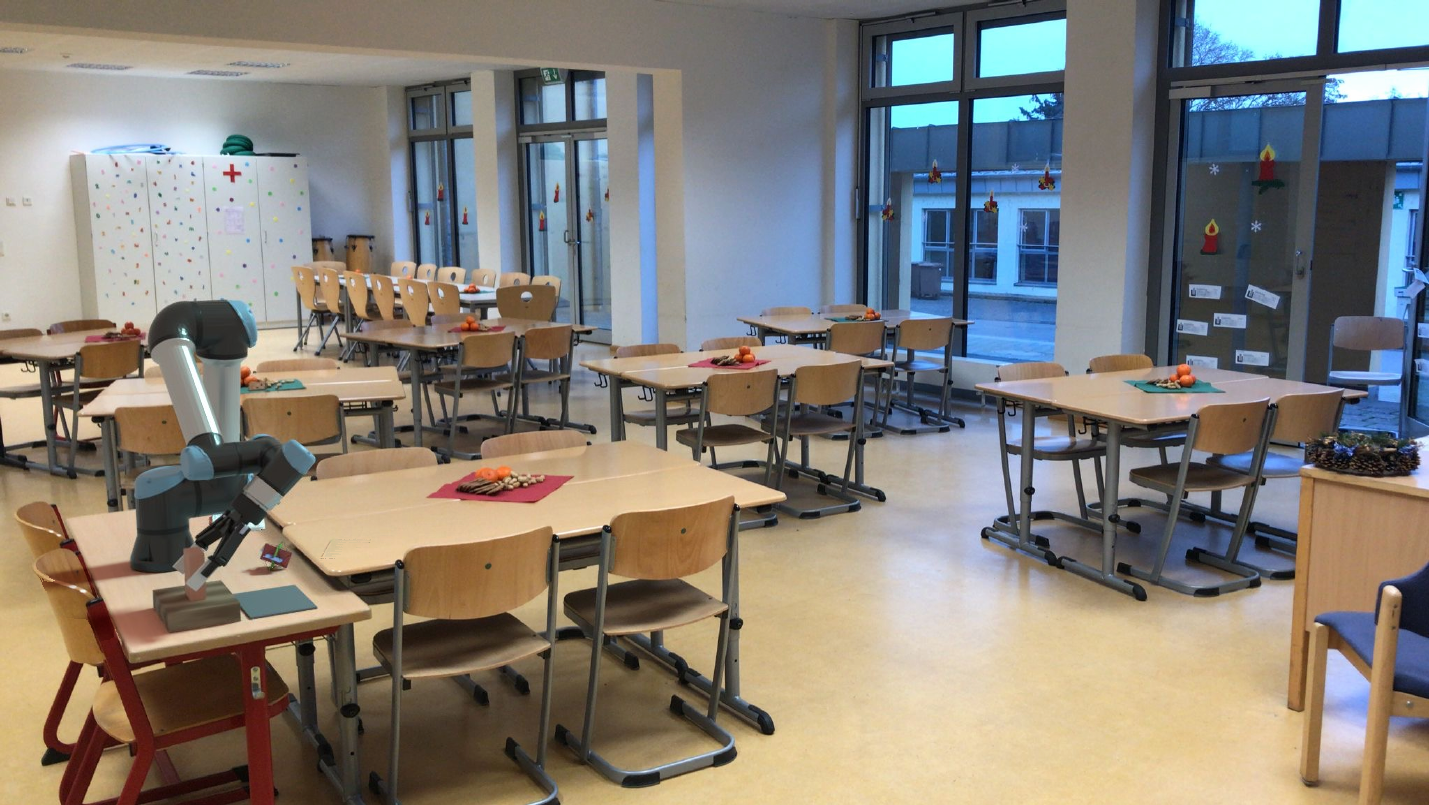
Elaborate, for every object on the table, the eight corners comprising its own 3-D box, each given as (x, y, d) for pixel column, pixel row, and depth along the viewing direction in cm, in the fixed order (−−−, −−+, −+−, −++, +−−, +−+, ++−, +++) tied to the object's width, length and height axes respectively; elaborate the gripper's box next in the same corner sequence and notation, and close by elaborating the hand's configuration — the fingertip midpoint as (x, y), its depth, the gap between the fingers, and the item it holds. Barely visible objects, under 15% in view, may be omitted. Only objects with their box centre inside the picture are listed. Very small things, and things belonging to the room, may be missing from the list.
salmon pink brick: (185, 593, 252) (183, 548, 250) (200, 591, 253) (198, 546, 252) (191, 601, 247) (189, 555, 245) (206, 599, 249) (204, 553, 247)
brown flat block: (153, 607, 254) (152, 590, 254) (221, 597, 262) (221, 580, 261) (169, 632, 240) (168, 614, 239) (240, 621, 247) (240, 602, 247)
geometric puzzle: (302, 556, 287) (281, 530, 286) (294, 564, 281) (272, 538, 279) (279, 573, 288) (258, 547, 286) (270, 581, 281) (249, 555, 280)
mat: (231, 595, 263) (231, 594, 263) (294, 586, 271) (294, 584, 271) (250, 619, 249) (250, 617, 249) (317, 608, 256) (317, 606, 256)
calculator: (212, 535, 312) (211, 528, 312) (212, 517, 331) (212, 511, 330) (265, 532, 318) (265, 525, 317) (262, 514, 336) (262, 507, 336)
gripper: (283, 525, 246) (210, 605, 240) (254, 500, 266) (186, 573, 260) (256, 503, 242) (181, 584, 236) (228, 479, 263) (159, 553, 256)
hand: (183, 578), depth 248 cm, fingers open, 13 cm apart
